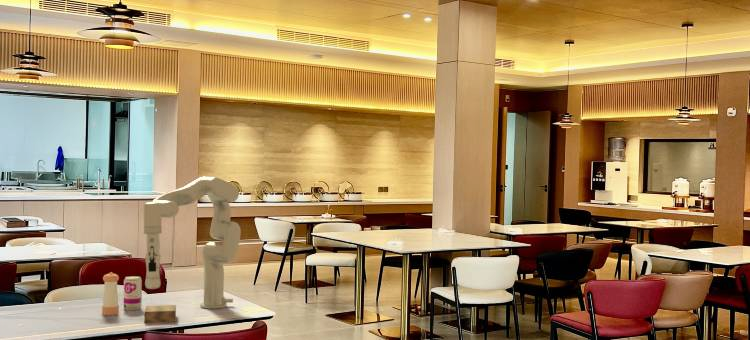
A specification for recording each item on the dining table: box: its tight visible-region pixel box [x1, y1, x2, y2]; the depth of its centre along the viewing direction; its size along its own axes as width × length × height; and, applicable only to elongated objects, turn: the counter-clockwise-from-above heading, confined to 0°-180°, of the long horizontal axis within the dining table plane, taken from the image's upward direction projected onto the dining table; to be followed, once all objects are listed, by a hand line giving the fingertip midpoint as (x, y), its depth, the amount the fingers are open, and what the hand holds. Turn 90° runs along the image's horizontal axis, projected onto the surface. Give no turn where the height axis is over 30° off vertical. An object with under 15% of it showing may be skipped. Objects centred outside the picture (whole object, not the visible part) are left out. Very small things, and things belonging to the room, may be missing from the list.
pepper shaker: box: [101, 271, 120, 316], centre depth 347 cm, size 7×7×19 cm
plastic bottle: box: [144, 252, 162, 290], centre depth 334 cm, size 6×7×20 cm
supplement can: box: [123, 275, 143, 311], centre depth 359 cm, size 8×8×15 cm
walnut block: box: [144, 304, 177, 324], centre depth 337 cm, size 13×13×5 cm
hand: (152, 269), depth 334 cm, fingers closed on plastic bottle, 5 cm apart
